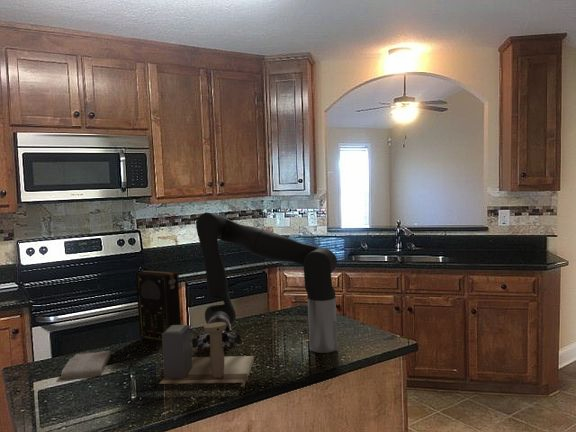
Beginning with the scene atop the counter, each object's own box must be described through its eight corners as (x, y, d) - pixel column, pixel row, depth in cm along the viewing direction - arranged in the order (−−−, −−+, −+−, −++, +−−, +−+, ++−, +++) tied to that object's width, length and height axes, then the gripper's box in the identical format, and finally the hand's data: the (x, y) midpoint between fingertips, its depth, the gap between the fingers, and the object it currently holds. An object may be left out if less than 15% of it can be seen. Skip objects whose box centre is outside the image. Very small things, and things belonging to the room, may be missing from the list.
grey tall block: (192, 367, 148) (189, 323, 147) (185, 377, 140) (182, 331, 139) (173, 367, 148) (170, 324, 147) (164, 378, 140) (161, 332, 139)
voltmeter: (137, 339, 181) (132, 272, 179) (154, 332, 188) (150, 268, 186) (168, 345, 173) (163, 275, 171) (185, 337, 180) (180, 270, 179)
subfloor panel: (254, 359, 155) (253, 356, 155) (244, 386, 135) (243, 382, 135) (180, 361, 157) (179, 357, 157) (159, 387, 137) (159, 383, 137)
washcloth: (112, 356, 165) (111, 347, 165) (102, 377, 148) (101, 367, 147) (74, 360, 163) (74, 351, 163) (60, 382, 145) (59, 371, 145)
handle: (232, 376, 139) (228, 324, 138) (210, 381, 136) (206, 328, 135) (225, 371, 143) (222, 321, 143) (204, 376, 140) (201, 325, 140)
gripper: (194, 319, 152) (189, 335, 136) (240, 315, 154) (241, 331, 137) (196, 342, 153) (191, 361, 136) (241, 339, 154) (242, 357, 138)
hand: (216, 346), depth 137 cm, fingers open, 8 cm apart
